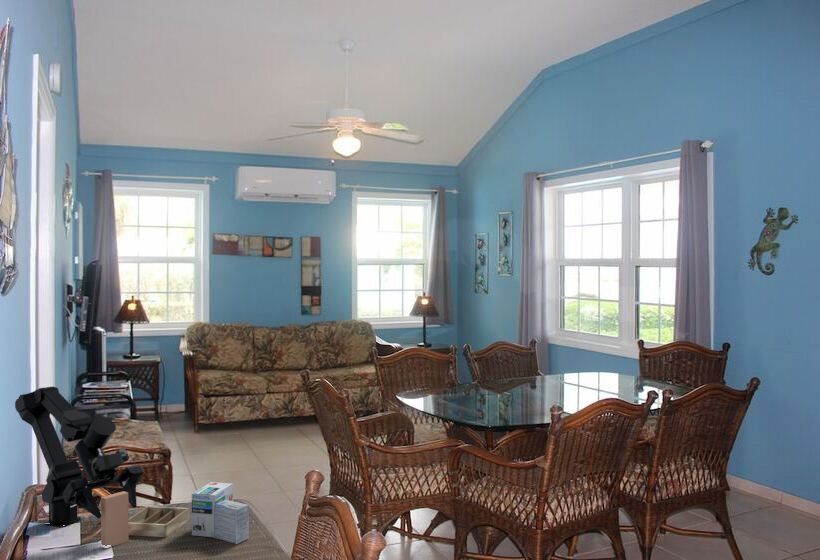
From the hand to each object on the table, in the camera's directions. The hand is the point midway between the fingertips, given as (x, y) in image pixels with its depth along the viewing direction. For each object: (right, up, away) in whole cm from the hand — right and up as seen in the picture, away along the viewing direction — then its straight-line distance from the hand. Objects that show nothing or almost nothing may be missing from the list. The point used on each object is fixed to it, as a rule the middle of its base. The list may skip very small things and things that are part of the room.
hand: (117, 512), depth 172 cm
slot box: (+5, -8, +13) cm, 16 cm away
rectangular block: (-1, -8, +1) cm, 8 cm away
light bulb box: (+20, -8, +11) cm, 24 cm away
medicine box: (+26, -8, +4) cm, 28 cm away
